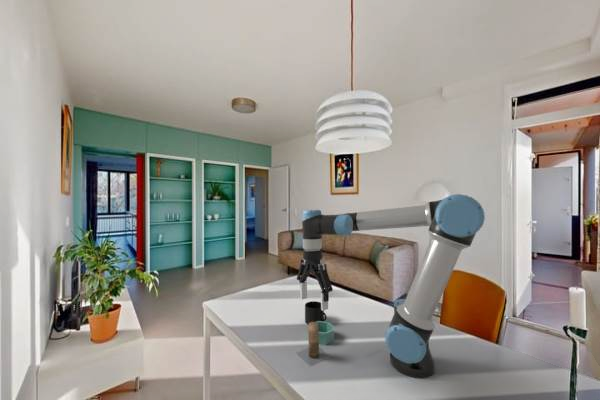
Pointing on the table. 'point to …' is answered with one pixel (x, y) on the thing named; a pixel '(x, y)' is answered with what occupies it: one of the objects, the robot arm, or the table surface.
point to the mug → (314, 312)
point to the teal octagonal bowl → (325, 333)
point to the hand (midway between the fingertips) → (313, 303)
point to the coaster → (312, 361)
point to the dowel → (313, 339)
